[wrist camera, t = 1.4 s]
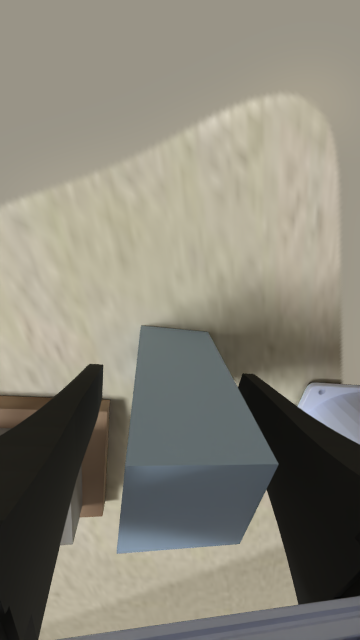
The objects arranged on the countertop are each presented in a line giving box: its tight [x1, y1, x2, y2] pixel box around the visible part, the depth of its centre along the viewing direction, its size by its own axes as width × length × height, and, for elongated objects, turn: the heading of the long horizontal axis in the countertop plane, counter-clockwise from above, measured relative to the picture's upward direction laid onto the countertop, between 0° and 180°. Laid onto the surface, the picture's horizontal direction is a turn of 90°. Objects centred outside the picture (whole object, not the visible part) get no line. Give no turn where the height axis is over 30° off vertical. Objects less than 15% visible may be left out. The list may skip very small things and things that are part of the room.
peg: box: [117, 326, 279, 554], centre depth 10 cm, size 4×4×8 cm
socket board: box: [0, 396, 110, 545], centre depth 14 cm, size 11×11×3 cm
